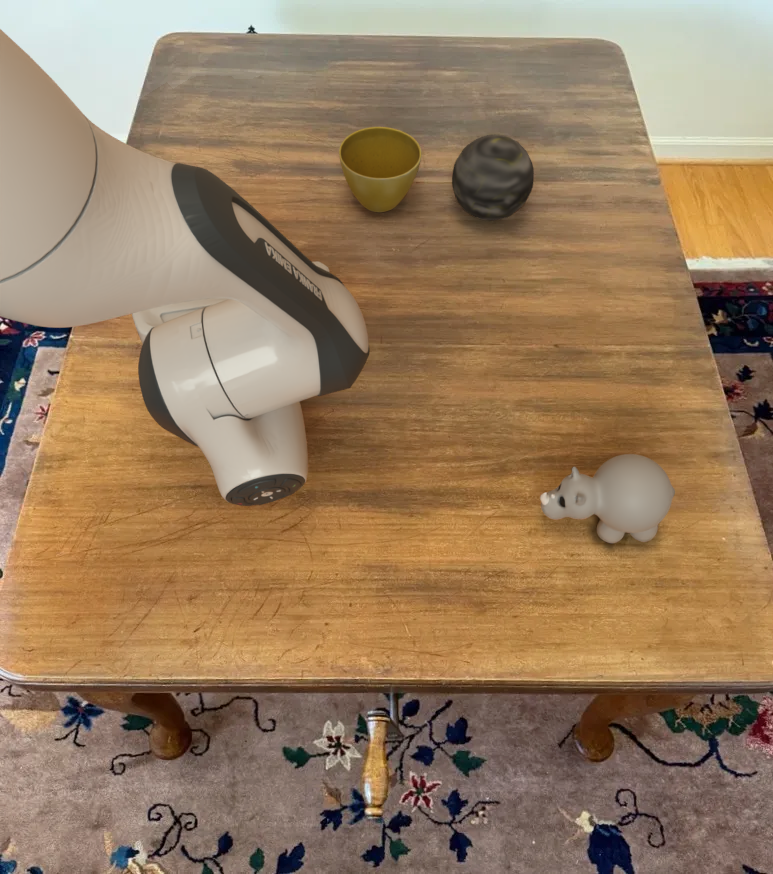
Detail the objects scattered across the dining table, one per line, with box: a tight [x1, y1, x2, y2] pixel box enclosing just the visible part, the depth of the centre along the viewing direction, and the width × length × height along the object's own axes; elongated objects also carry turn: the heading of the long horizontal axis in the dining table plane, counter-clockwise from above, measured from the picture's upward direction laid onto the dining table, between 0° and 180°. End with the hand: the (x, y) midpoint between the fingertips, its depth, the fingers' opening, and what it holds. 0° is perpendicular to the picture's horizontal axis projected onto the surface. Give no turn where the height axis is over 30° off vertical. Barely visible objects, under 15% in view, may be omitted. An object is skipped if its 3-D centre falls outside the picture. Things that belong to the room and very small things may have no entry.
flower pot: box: [338, 126, 423, 213], centre depth 93 cm, size 10×10×7 cm
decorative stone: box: [451, 133, 535, 222], centre depth 91 cm, size 10×10×10 cm
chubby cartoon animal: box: [539, 453, 676, 544], centre depth 69 cm, size 7×12×8 cm, turn 91°
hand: (226, 253), depth 79 cm, fingers open, 8 cm apart
